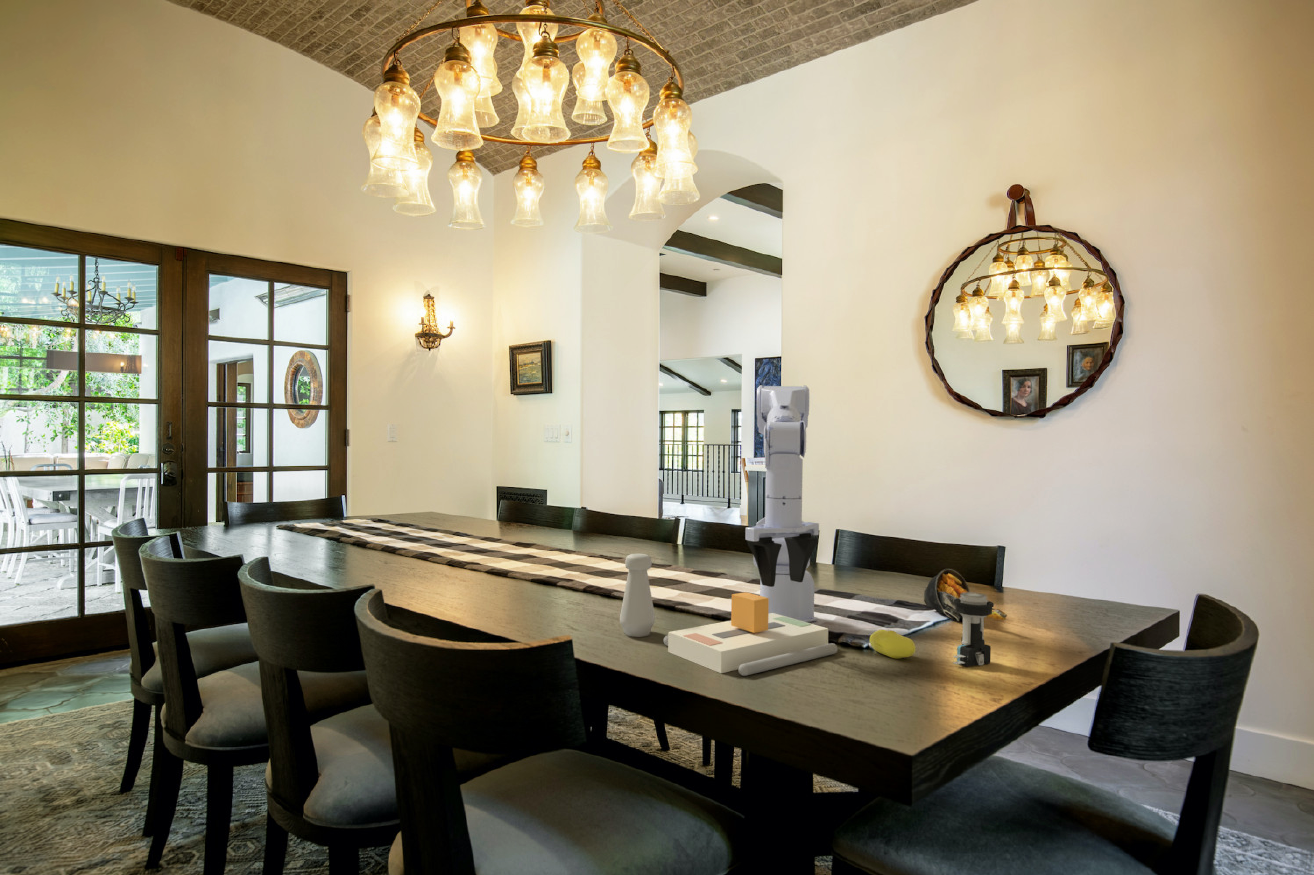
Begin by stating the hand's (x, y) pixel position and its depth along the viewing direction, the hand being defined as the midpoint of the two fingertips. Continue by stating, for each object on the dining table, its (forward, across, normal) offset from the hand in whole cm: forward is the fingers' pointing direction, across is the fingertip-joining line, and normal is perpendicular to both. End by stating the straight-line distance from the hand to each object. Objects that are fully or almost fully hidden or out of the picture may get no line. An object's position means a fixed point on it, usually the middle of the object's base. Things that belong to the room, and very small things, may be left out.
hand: (782, 583), depth 117 cm
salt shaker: (+10, -16, +17) cm, 25 cm away
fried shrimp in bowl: (+10, +38, -8) cm, 40 cm away
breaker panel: (+9, -7, 0) cm, 12 cm away
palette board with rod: (+9, -7, 0) cm, 12 cm away
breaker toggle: (+6, -7, 0) cm, 9 cm away
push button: (+10, +15, -23) cm, 29 cm away
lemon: (+10, +9, -14) cm, 19 cm away
